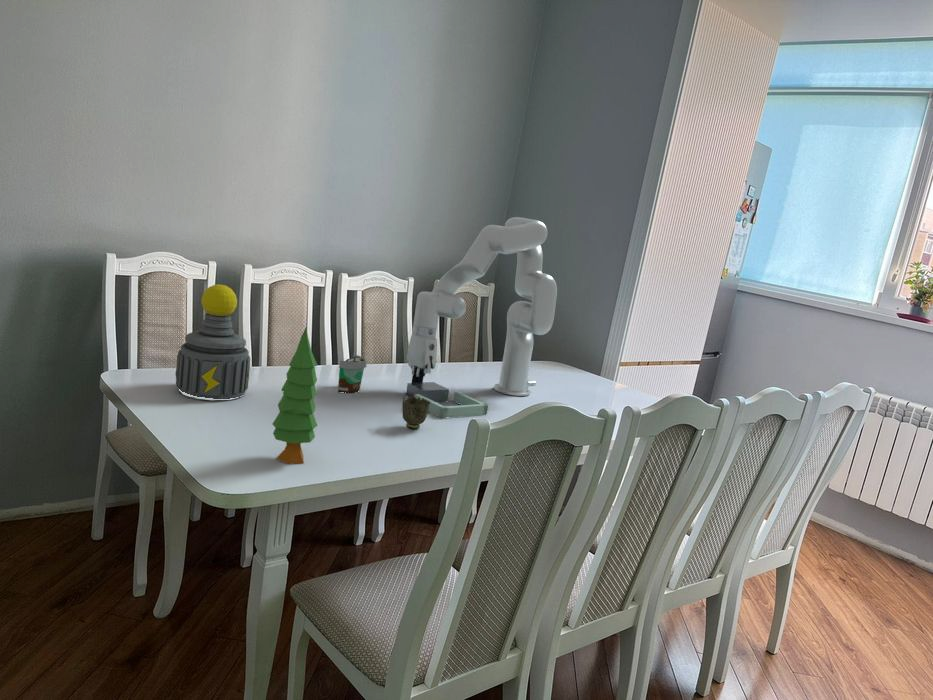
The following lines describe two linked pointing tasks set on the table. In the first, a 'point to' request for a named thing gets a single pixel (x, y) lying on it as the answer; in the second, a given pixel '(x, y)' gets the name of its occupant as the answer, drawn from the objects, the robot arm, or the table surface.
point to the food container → (351, 374)
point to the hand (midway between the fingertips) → (416, 387)
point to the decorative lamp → (214, 351)
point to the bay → (466, 409)
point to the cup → (414, 411)
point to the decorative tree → (297, 404)
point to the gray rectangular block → (428, 391)
